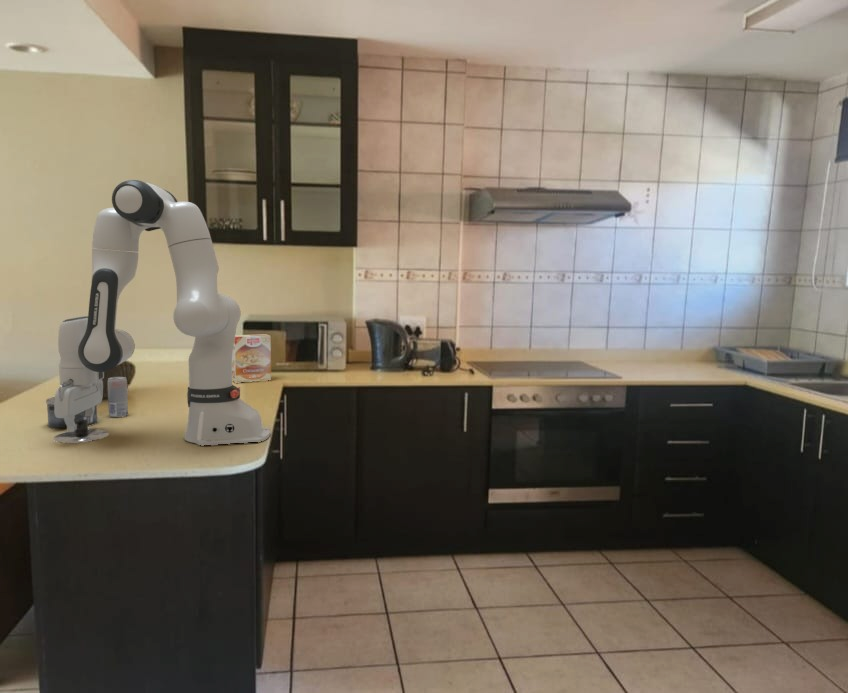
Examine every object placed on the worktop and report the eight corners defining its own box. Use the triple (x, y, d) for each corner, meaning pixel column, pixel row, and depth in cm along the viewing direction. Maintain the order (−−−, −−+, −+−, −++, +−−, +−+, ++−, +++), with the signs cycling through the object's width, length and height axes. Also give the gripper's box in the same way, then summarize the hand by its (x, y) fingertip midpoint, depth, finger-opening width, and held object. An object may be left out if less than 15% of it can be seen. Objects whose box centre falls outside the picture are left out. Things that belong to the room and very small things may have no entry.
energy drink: (123, 413, 196) (121, 376, 194) (131, 415, 192) (129, 378, 191) (106, 416, 191) (104, 378, 190) (113, 418, 188) (112, 380, 187)
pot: (108, 416, 190) (107, 392, 190) (82, 431, 173) (81, 404, 172) (64, 417, 189) (63, 392, 188) (33, 431, 172) (32, 404, 171)
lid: (116, 431, 174) (115, 415, 174) (96, 444, 161) (95, 426, 161) (68, 432, 173) (67, 415, 172) (44, 444, 160) (43, 426, 160)
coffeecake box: (235, 384, 251) (234, 336, 249) (231, 381, 257) (230, 334, 255) (271, 381, 259) (271, 335, 256) (266, 378, 265) (266, 333, 262)
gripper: (72, 383, 155) (74, 437, 157) (106, 371, 176) (108, 418, 177) (46, 383, 155) (48, 436, 156) (83, 370, 175) (85, 418, 177)
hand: (80, 427), depth 167 cm, fingers open, 8 cm apart
